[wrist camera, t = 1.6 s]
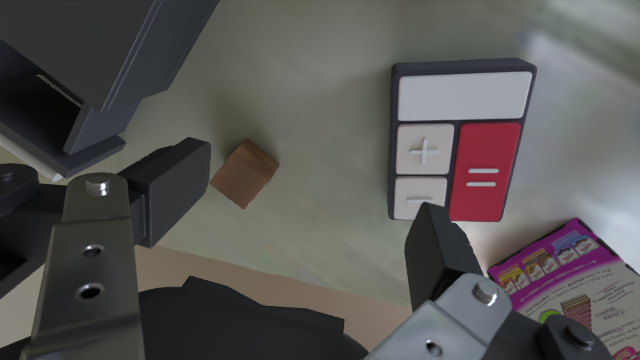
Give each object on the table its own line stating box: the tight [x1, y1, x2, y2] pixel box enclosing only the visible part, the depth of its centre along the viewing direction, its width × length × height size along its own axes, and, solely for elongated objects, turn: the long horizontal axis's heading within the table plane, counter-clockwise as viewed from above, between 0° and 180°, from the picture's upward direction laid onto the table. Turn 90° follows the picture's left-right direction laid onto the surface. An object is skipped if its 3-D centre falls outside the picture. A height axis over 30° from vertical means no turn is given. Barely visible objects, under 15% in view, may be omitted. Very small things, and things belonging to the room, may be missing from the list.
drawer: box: [0, 38, 141, 182], centre depth 31 cm, size 18×11×8 cm, turn 140°
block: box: [209, 139, 279, 210], centre depth 35 cm, size 4×4×4 cm
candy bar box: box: [486, 218, 640, 360], centre depth 30 cm, size 11×5×16 cm, turn 138°
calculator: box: [388, 58, 537, 222], centre depth 31 cm, size 11×4×15 cm
